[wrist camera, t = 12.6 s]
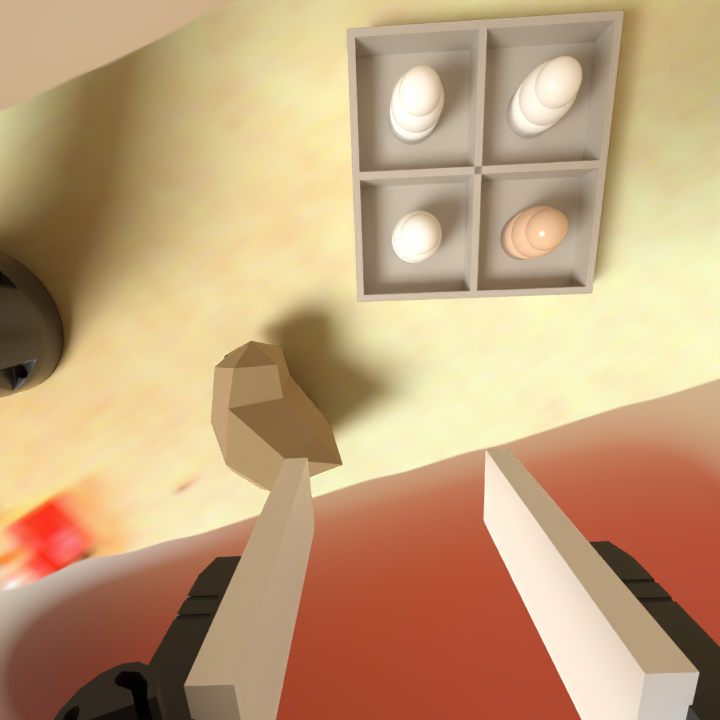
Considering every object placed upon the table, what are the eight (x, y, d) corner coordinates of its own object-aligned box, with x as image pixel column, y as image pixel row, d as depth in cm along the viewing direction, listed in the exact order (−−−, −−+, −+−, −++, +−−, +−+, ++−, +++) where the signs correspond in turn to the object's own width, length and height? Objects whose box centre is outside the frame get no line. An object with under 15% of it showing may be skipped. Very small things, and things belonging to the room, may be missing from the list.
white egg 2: (391, 264, 33) (395, 260, 27) (390, 217, 32) (395, 204, 26) (435, 262, 32) (449, 258, 27) (435, 215, 31) (450, 201, 26)
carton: (358, 300, 34) (357, 302, 31) (349, 53, 29) (346, 28, 26) (572, 292, 33) (592, 293, 30) (598, 37, 28) (624, 10, 26)
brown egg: (499, 260, 32) (526, 256, 27) (501, 213, 31) (530, 198, 26) (544, 259, 32) (580, 254, 26) (548, 211, 31) (587, 196, 26)
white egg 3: (505, 139, 30) (536, 107, 24) (508, 84, 29) (541, 37, 23) (553, 137, 30) (596, 103, 24) (558, 81, 29) (603, 33, 23)
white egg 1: (389, 145, 30) (393, 115, 25) (388, 91, 29) (393, 46, 24) (436, 144, 30) (451, 113, 25) (437, 89, 29) (454, 44, 24)
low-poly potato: (331, 469, 39) (387, 420, 31) (258, 543, 30) (311, 500, 23) (247, 374, 41) (282, 307, 33) (157, 418, 32) (177, 343, 25)
